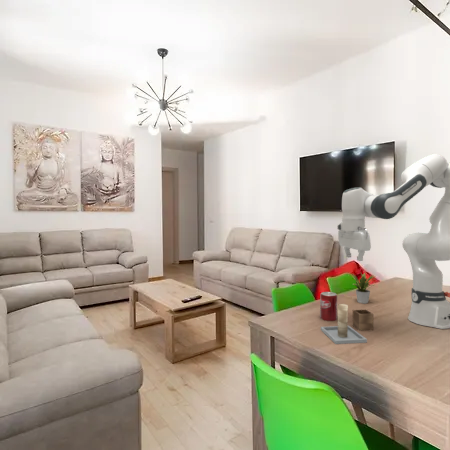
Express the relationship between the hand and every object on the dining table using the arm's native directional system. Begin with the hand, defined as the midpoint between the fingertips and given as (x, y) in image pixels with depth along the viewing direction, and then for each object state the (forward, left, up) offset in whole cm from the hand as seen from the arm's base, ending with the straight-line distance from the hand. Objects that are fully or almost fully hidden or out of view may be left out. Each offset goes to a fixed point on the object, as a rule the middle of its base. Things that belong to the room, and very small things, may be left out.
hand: (354, 258), depth 135 cm
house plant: (-23, -32, -29) cm, 49 cm away
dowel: (+10, +11, -28) cm, 32 cm away
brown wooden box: (-2, +4, -29) cm, 29 cm away
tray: (+10, +11, -29) cm, 33 cm away
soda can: (+7, -9, -29) cm, 31 cm away
